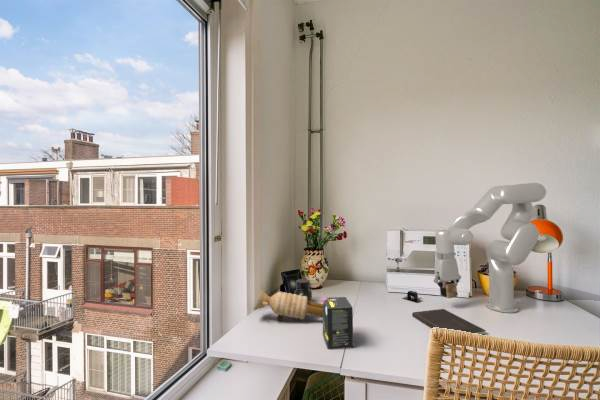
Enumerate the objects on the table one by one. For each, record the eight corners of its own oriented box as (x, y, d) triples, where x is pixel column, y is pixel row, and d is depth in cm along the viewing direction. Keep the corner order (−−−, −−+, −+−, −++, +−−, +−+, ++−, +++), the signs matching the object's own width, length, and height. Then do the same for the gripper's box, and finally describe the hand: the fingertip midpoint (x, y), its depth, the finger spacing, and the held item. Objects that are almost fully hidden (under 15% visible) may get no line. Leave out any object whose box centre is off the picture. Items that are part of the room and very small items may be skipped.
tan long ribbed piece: (323, 324, 132) (257, 311, 132) (328, 297, 132) (262, 284, 132) (325, 334, 122) (254, 320, 122) (330, 305, 122) (259, 291, 122)
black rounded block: (427, 302, 149) (427, 293, 149) (419, 305, 145) (419, 296, 145) (405, 296, 159) (405, 287, 159) (397, 299, 154) (397, 290, 154)
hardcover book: (443, 313, 134) (443, 308, 134) (485, 336, 111) (485, 330, 111) (412, 317, 130) (412, 312, 130) (449, 341, 108) (449, 335, 108)
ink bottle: (316, 304, 147) (315, 280, 147) (306, 309, 140) (306, 284, 140) (299, 300, 152) (299, 277, 152) (289, 306, 145) (289, 281, 145)
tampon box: (322, 335, 113) (321, 297, 113) (346, 334, 114) (345, 296, 114) (327, 349, 102) (326, 307, 102) (353, 348, 103) (353, 306, 103)
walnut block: (449, 293, 142) (448, 281, 142) (457, 296, 137) (456, 283, 137) (440, 295, 140) (439, 282, 140) (448, 298, 136) (447, 285, 136)
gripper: (454, 252, 145) (457, 289, 144) (424, 257, 140) (427, 295, 140) (466, 255, 137) (470, 294, 137) (435, 259, 133) (439, 300, 133)
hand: (448, 294), depth 139 cm, fingers closed on walnut block, 5 cm apart
